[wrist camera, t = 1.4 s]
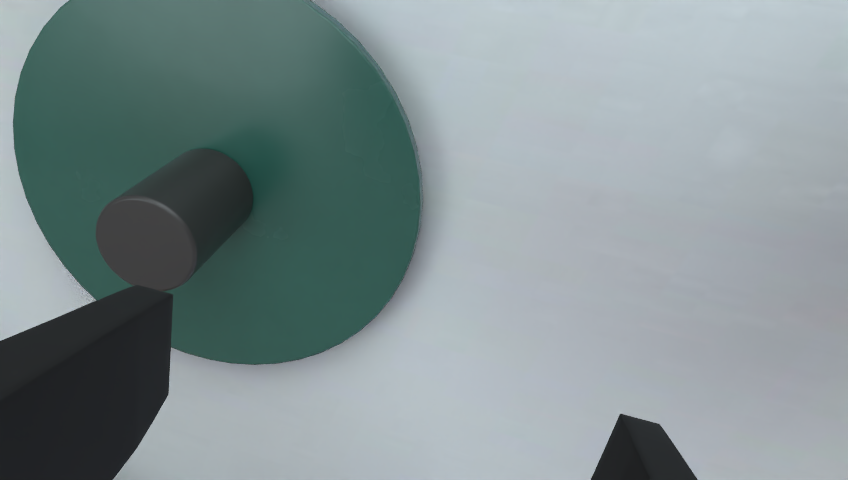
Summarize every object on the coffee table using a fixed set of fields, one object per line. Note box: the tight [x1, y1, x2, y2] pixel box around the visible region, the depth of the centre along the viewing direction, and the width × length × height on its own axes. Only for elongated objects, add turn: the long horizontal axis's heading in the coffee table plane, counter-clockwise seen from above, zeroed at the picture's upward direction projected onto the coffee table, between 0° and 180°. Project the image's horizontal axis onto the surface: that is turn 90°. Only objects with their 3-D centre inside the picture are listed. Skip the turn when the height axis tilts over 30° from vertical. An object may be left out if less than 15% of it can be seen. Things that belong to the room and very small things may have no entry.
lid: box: [13, 0, 423, 365], centre depth 17 cm, size 11×11×5 cm
